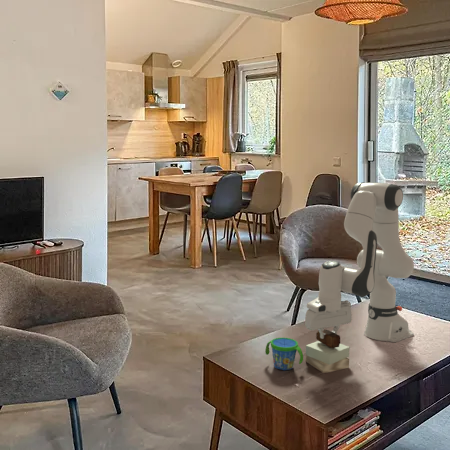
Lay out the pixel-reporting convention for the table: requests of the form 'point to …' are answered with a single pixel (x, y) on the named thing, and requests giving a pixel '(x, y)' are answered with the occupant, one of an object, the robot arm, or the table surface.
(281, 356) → the snack cup
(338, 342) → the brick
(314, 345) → the upper slab
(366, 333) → the robot arm
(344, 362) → the lower slab
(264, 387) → the table surface
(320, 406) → the table surface
